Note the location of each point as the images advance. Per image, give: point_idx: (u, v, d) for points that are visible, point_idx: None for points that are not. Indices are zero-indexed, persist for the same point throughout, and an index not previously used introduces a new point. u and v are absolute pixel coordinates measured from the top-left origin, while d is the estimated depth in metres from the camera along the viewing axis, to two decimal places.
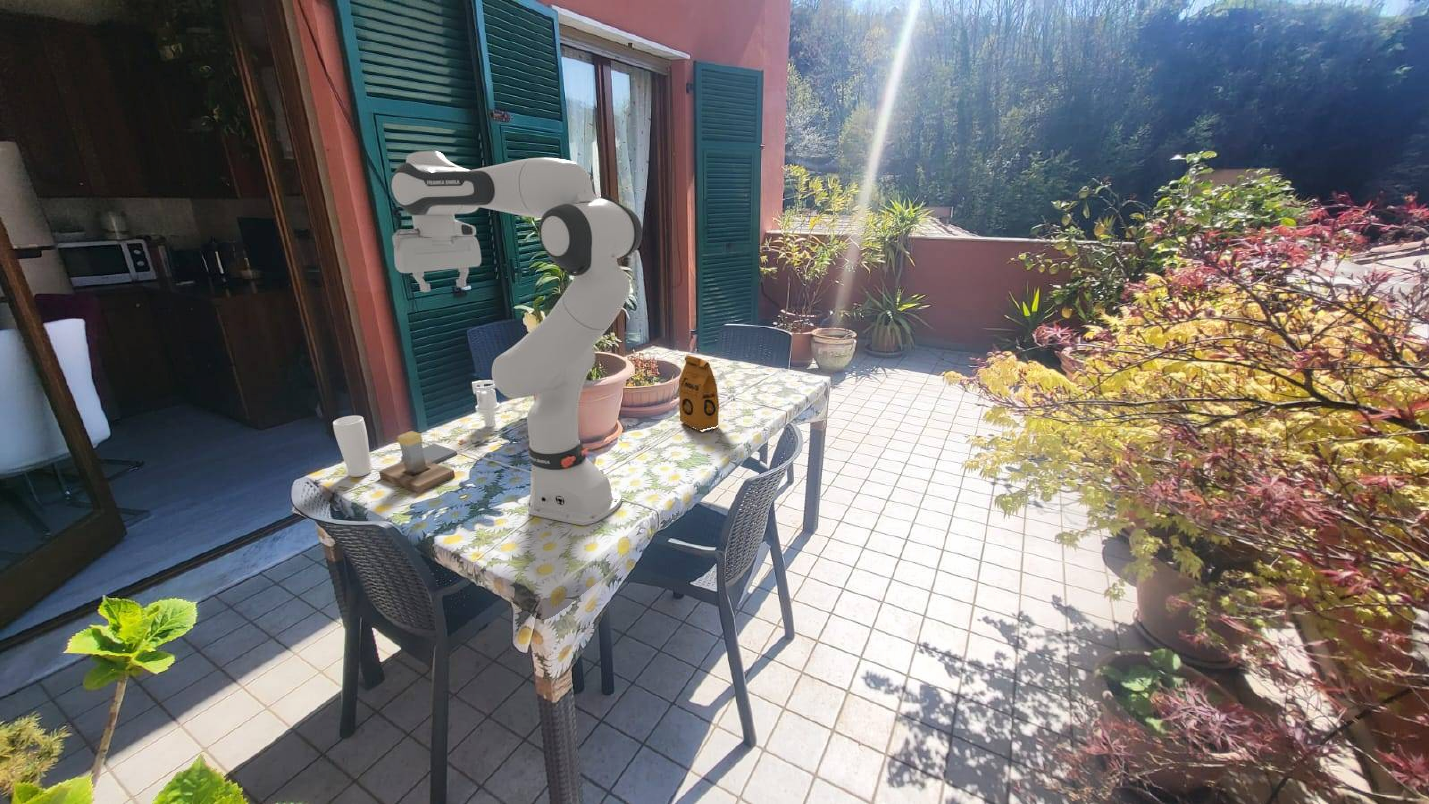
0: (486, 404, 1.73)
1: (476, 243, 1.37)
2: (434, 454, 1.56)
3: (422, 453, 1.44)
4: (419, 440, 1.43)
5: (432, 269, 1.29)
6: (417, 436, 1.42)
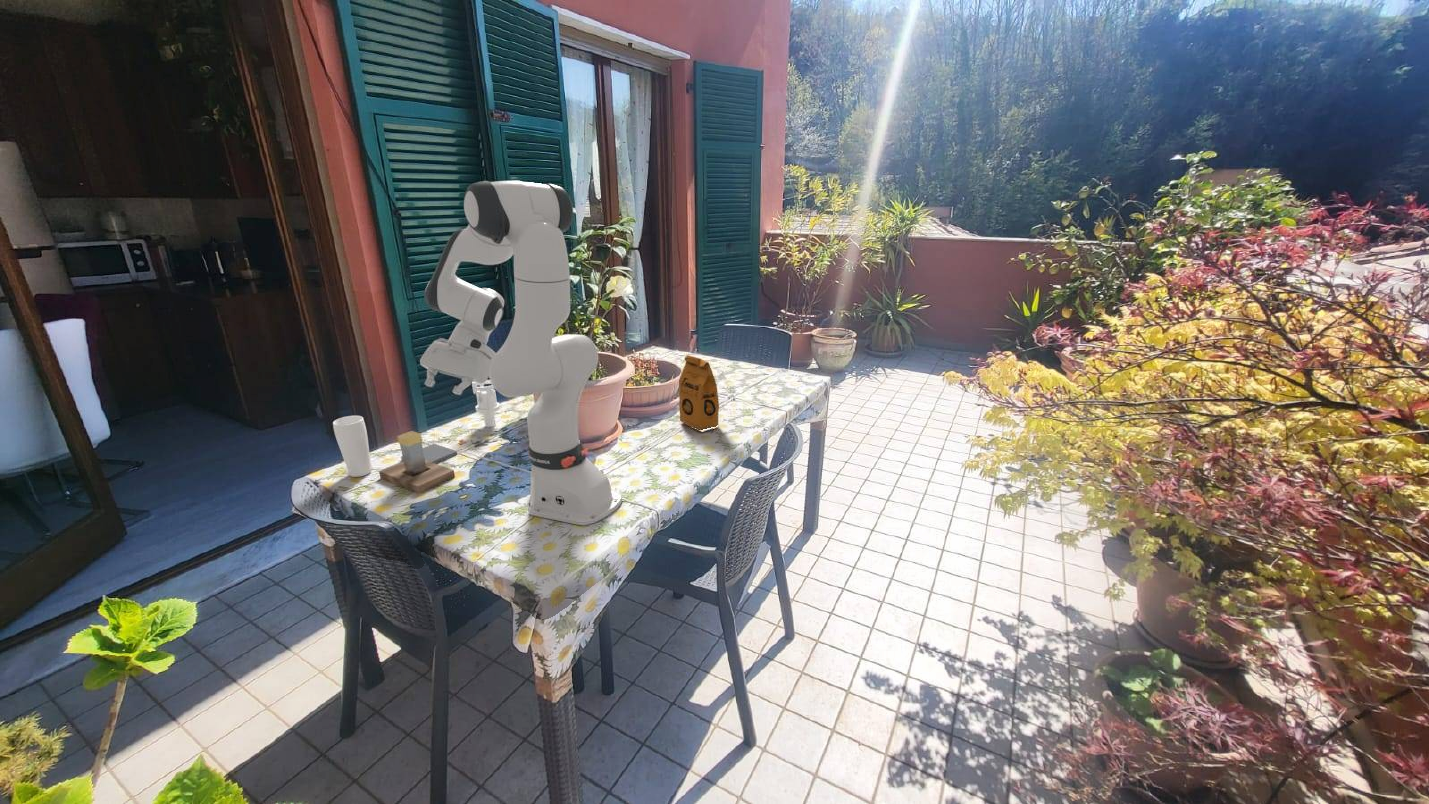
0: (486, 404, 1.73)
1: (480, 358, 1.47)
2: (434, 454, 1.56)
3: (422, 453, 1.44)
4: (419, 440, 1.43)
5: (437, 367, 1.50)
6: (417, 436, 1.42)
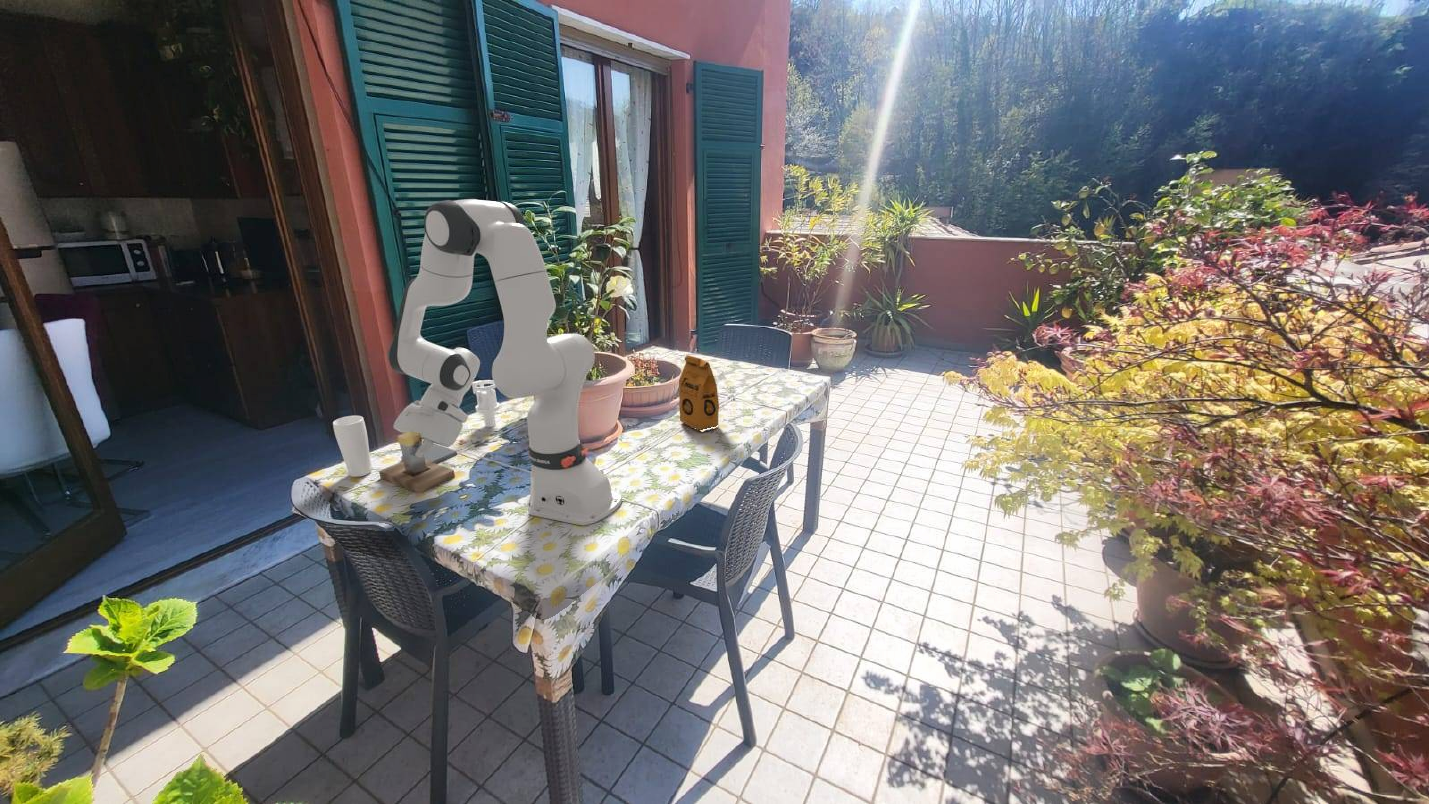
0: (486, 404, 1.73)
1: (446, 421, 1.41)
2: (434, 454, 1.56)
3: None
4: (419, 440, 1.43)
5: (407, 430, 1.45)
6: (417, 436, 1.42)
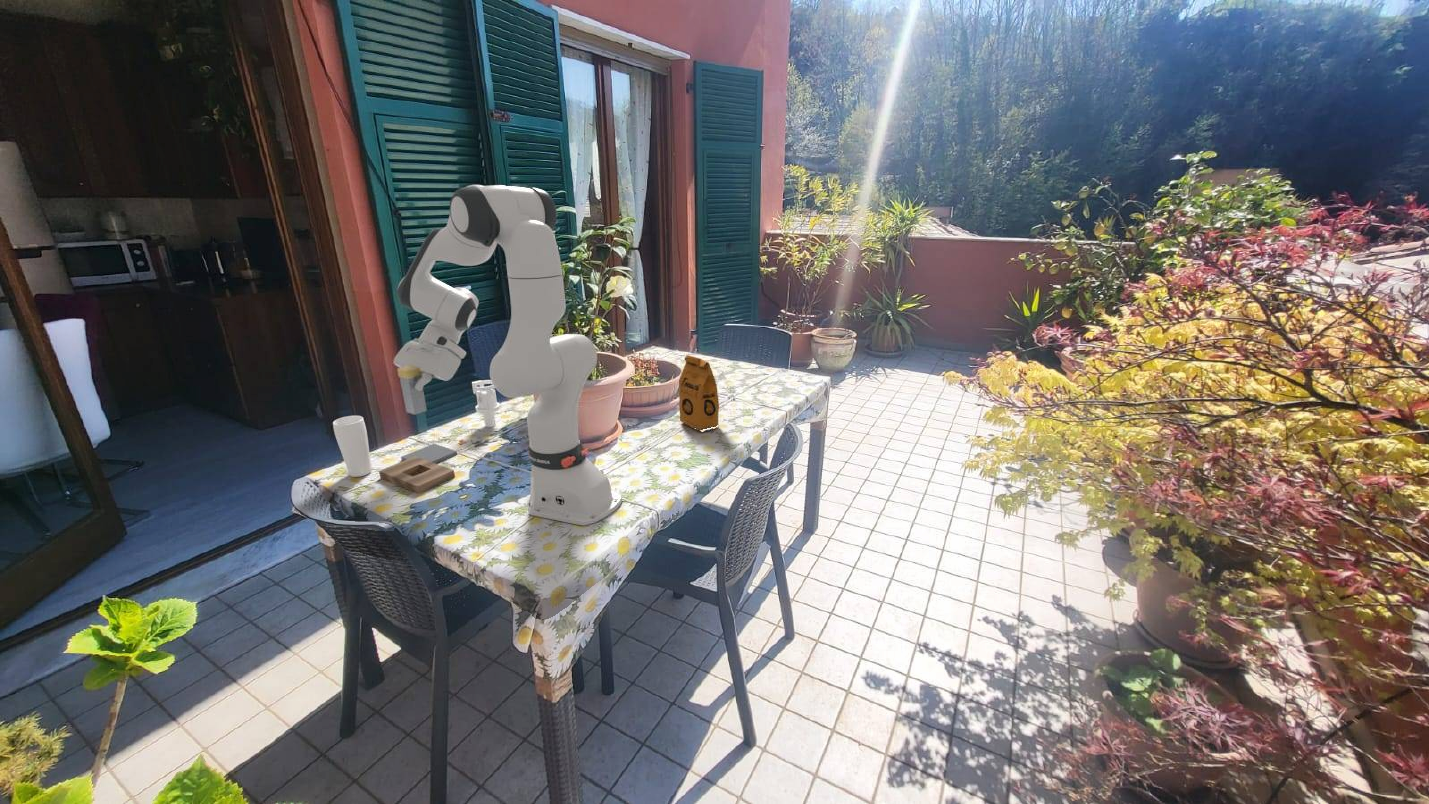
0: (486, 404, 1.73)
1: (445, 355, 1.45)
2: (434, 454, 1.56)
3: None
4: (418, 374, 1.47)
5: (407, 365, 1.49)
6: (416, 369, 1.46)
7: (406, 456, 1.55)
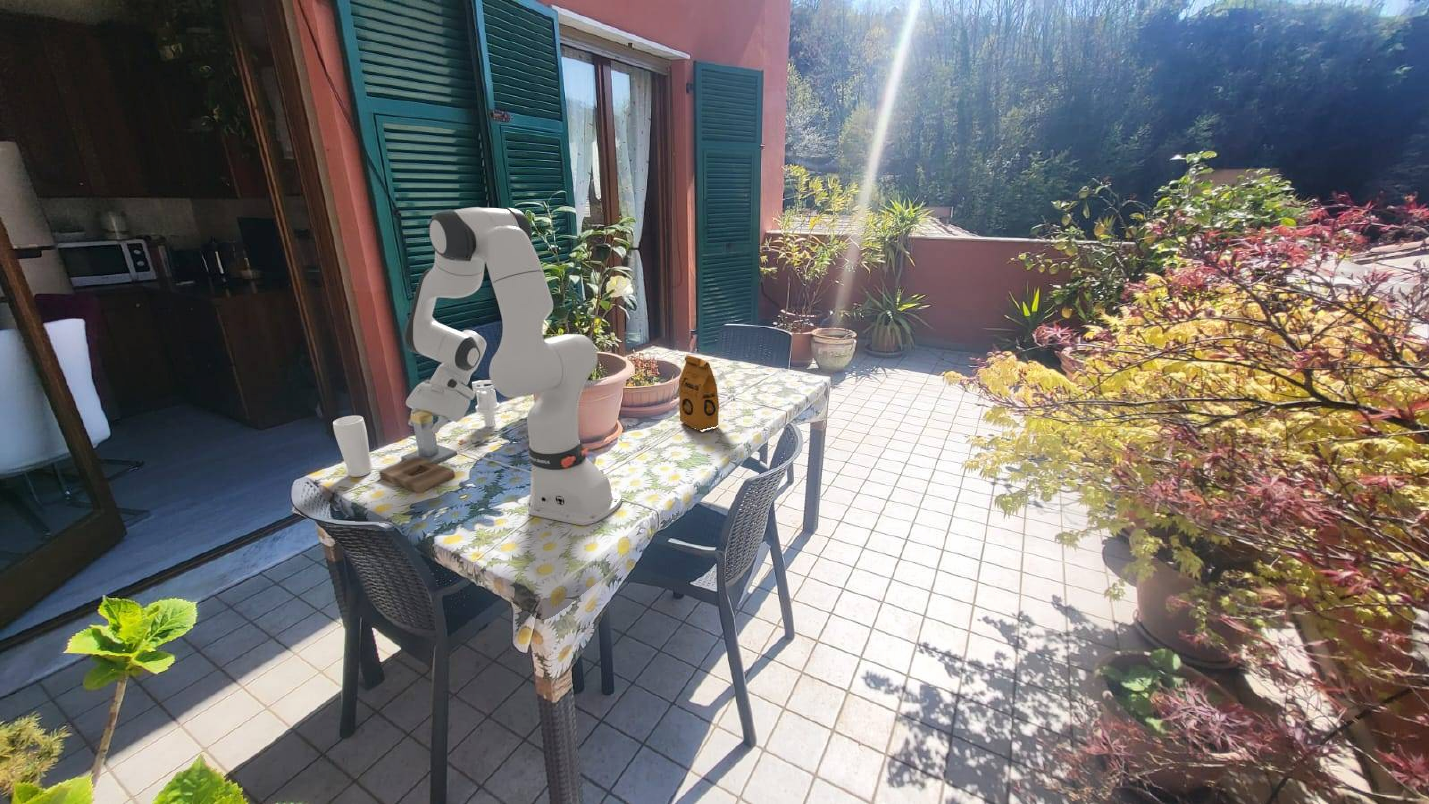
0: (486, 404, 1.73)
1: (455, 397, 1.51)
2: None
3: None
4: (430, 419, 1.53)
5: (418, 407, 1.55)
6: (429, 415, 1.53)
7: (406, 456, 1.55)
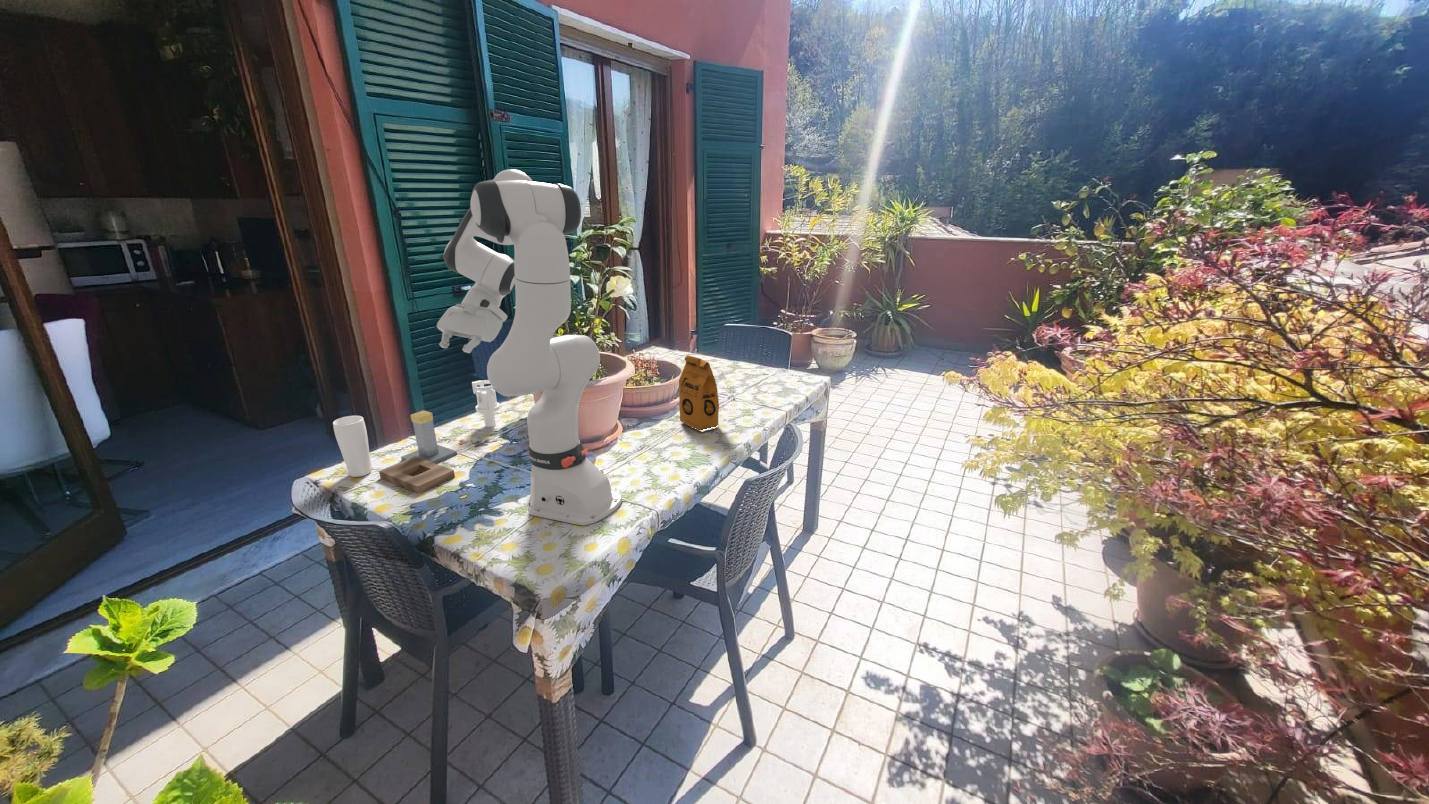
0: (486, 404, 1.73)
1: (488, 316, 1.49)
2: None
3: (433, 430, 1.55)
4: (430, 419, 1.53)
5: (450, 328, 1.54)
6: (429, 415, 1.53)
7: (406, 456, 1.55)
